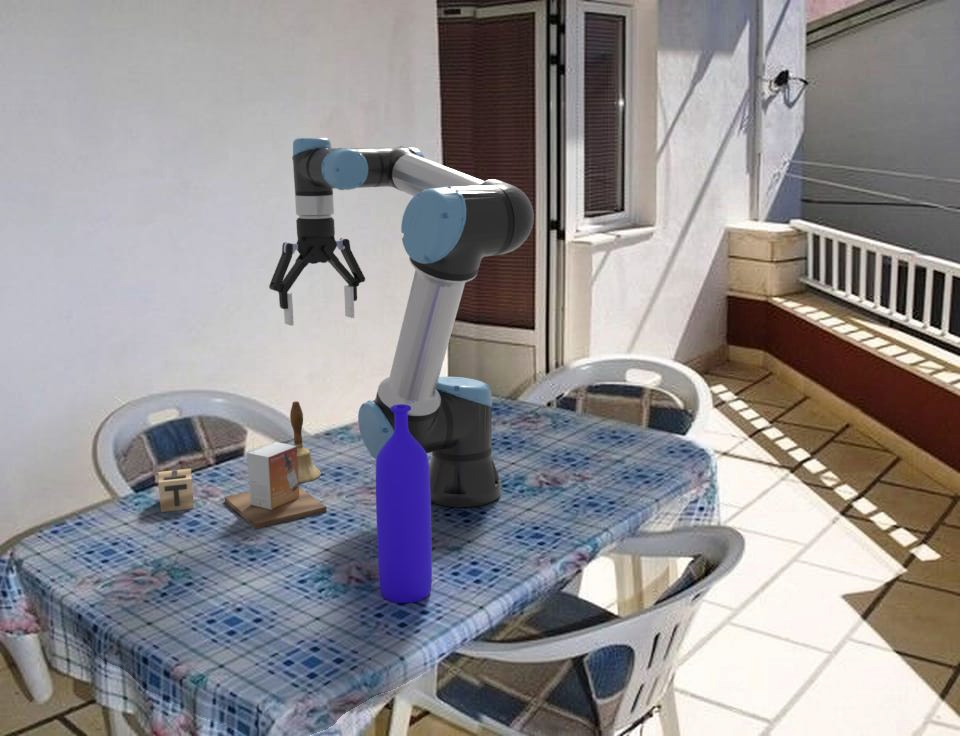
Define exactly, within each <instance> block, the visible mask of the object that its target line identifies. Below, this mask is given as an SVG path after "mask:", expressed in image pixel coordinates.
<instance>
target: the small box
mask: <svg viewBox="0 0 960 736" xmlns="http://www.w3.org/2000/svg"><path fill="white" fill-rule="evenodd" d="M246 460H247V472H248V474H247V476H248V488H249V490H248V492H250V504H251V505H254V506H257V507H261V508H265V509H269V510H272V509H274V508H276V507H278V506H281V505H283V504H285V503H287V502H290V501H292V500H295V499H298V498H299V487H300V485H299V484H300V483H299V478H298V458H297V447H296V446H294V444H293V445H292V444H287V443H283V442H279V441H275V442H273V443H271V444H269V445H268V444H267V445H265V446H263V447H260V448H258V449H255V450H251V451H249V452H247V453H246Z"/></svg>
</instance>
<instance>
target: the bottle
mask: <svg viewBox="0 0 960 736" xmlns="http://www.w3.org/2000/svg"><path fill="white" fill-rule="evenodd" d="M390 409H391V411H393V412H394V416H395V429H394V433H393V435H392V436H391V437H390V439H389V440H388V441H387V442H386V443H385V445H384V446H383V447H382V449H381V450H380V452H379V453H378V455H377V459H375V506H376V507H375V511H376V538H377V539H376V540H377V541H376V542H377V564H378V578H379V581H378V582H379V589H380V594H381V595H382V597H383V598H384V599H385V600H386V601H389V602H391V603H392V602H393V603H396V604H411V603H417V602H420V601H422V600H425V599H426V598H427V597H428V596H429V595H430V593H431V591H432V582H433V580H432V579H433V578H432V577H433V575H432V573H433V562H432V561H433V560H432V559H433V558H432V557H433V549H432V548H433V546H432V545H433V544H432V541H433V540H432V537H433V536H432V502H431V495H430V472H429V466H430V461H429V457H428V453H426V451H425V450H424V449H423V447H422V446H421V445H420V444H419V443H418V441H417V440H416V439H415V438H414V437H413V436H412V435H411V434H410V432H409V429H408V411H410V410H411V406H409V405H405V404H398V405H394V406H392V407H391V408H390Z"/></svg>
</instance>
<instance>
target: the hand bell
mask: <svg viewBox="0 0 960 736" xmlns="http://www.w3.org/2000/svg"><path fill="white" fill-rule="evenodd" d="M289 414H290V415H289V417H290V424H291V427H292V429H293V430H292V431H293V441H294V442H293V446H296V447H297V458H298V478H299V484H300V483H305V482H311V481H313V480H316V479H318V478H320V476H321V475H322V473H321V471H320V470H319V469H318V468H317V467H316V466H315V465H314V462H313V460H312V456H311V451H310V449H308V448H305V447H304V446H303V434H302V430H303V429H302V428H303V424H304V413H303V410H302V407H301V405H300V402H299V401H297V400H295V401H292V405H291V408H290V413H289Z"/></svg>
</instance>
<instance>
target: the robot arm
mask: <svg viewBox="0 0 960 736" xmlns="http://www.w3.org/2000/svg"><path fill="white" fill-rule="evenodd" d="M291 158H292V164H293V180H294V181H293V182H294V201H295V214H296V215H297V216H299V217H297V219H296V235H297V242H296V243H291V242H287V241H285V242H283V243H282V245H281V246H282V247H281V249H282V250H281V255H280V258H279V260H278V263H277V265H276V267H275V271H274V273H273V275H272V278H271V280H270V282H269V289H270V290H271V291H274V292H277V293H278V297H279V298H278V300H279V301H278V302H279V303H278V304H279V308H280V309H282V310H283V316H284V324H285V325H287V326H290V327H291V326H294V308H293V293H292V292H289V291H290V289H291V288H292V287H293V285H294V283H295V282H296V281H297V279H298V278H299V276H300V275H301V273H302V272H303V270H304V269H305V268H306V267H307V266H308V265H309V264H312V265H315V264H318V263H322V264H325V263H329V265H331V266H332V268H334V270H336V272H337V274H339V275H340V277H342V279H343V280H344V282H346V284H347V285H346V284H345V285H343V288H344V290H343V291H344V292H343V293H344V314H345V317H347V318H349V319H354V318H355V302H357V300H358V287H359V285H360V284H361V283H364V282H366V277H365V275H364V274H363V273H364V272H363V271H362V269H361V267H360V265H359V263H358V262H357V259H356V257H355V256H354V253H353V251H352V249H351V244H350V243H351V242H350V240H349V239H348V238H344V237H341V238H339V239H336V238H335V234H336V232H335V218H333V217H332V215H334V214H335V211H334V210H335V209H334V191H333V190H334V189H336V190H339V191H344V190H345V191H346V190H347V191H351V190H354V189H355V190H356V189H360V188H363V189H364V188H380V187H381V188H382V187H383V188H385V187H386V188H387V187H391V188H393V189H396V190H398V191H400V192H404V193H406V194H408V195H410V196H412V198H411V199H410V200H409V202H408V203H407V205H406V208H405V210H404V212H403V214H402V220H401V227H400V230H401V231H400V232H401V233H402V234H403V236H402V238H401V241H402V244H403V248H404V250H405V252H406V254H407V255H408V256H409V262H410V264H411V266H412V267H413V269H414V270H415V271H414V275H413V278H412V282H411V287H410V291H409V295H408V298H407V299H408V300H407V303H406V308H405V312H404V317H403V321H402V323H401V327H400V328H401V329H400V333H399V336H398V341H397V345H396V349H395V353H394V356H393V361H392V367H391V369H390V373H389V376H388V377H385V378H384V379H383V380H382V381H380V383H379V385H378V388H377V392H376V395H375V399H374V400H367V401H366V402H363V403H362V404H361V405H360V407H359V409H358V413H357V415H358V416H357V418H358V419H357V421H358V423H357V424H358V428H359V433H360V437H361V438H362V441H363V443H364V446H365V448H366V450H367V451H368V453H370V455H371V456H372V457H373V458H374V459H375V460H376V459H377V455H378V453H379V452H380V450H381V449H382V447H383V446H384V445H385V443H386V442H387V441H388V440H389V439H390V437H391V436H392V435H393V433H394V429H395V416H394V412H393V411H391V409H390V408H391V407H392V406H394V405H398V404H405V405H409V406H411V410H410V411H408V429H409V432H410V434H411V435H412V436H413V437H414V438H415V439H416V440H417V441H418V443H419V444H420V445H421V446H422V447H423V449H424V450H425V451H426V453H427V454H429V453H431V456H432V457H431V460H430V462H429V472H430V495H431V503H433V504H436V505H439V506H443V507H451V508H471V507H472V508H473V507H478V506H483V505H487V504H490V503H492V502H495V501H496V500H497V499H499V497H500V496H501V495H502V493H501V490H502V489H501V488H502V487H501V486H502V485H501V484H502V483H501V479H500V476H499V474H498V471H497V467H496V464H495V462H494V459H493V457H492V453H493V452H492V448H493V447H492V446H493V445H492V443H493V442H492V415H493V413H492V410H493V409H492V408H493V402H492V391H491V388H490V386H489V384H487V383H485V382H484V381H481V380H478V379H473V378H467V377H462V376H461V377H460V376H441V371H442V368H443V364H444V361H445V357H446V354H447V351H448V347H449V343H450V339H451V335H452V331H453V329H454V324H455V320H456V318H457V314H458V311H459V306H460V302H461V299H462V297H463V291H464V289H465V285H466V283H467V282H471V281H473V279H475V278H476V277H477V276H478V272H479V268H480V266H481V263H482V259H483V258H484V257H491V256H493V257H494V256H499V255H500V256H501V255H505V254H509V253H510V252H513V251H516V250H517V249H518V248H520V247H521V246H522V245H523V244H524V243H525V242H526V241H527V239H528V238H529V236H530V234H531V232H532V230H533V228H534V227H533V226H534V220H535V218H534V217H535V212H534V208H533V205H532V203H531V200H530V199H529V197H528V196H527V194H526V193H525V192H524V191H523V190H521V189H520V188H518V187H517V186H514V185H512V184H510V183H507V182H504V181H502V180H499V179H496V178H495V179H493V178H492V179H487V180H483V179H480V178H476V177H475V176H472V175H469V174H466V173H464V172H461V171H458V170H456V169H454V168H450V167H448V166H445V165H443V164H440V163H438V162H435V161H433V160H430V159H427V158H426V157H425V155H424V154H423V153H422V151H421V150H420V149H418V148H416V147H408V146H396V147H354V148H353V147H349V148H348V147H340V148H339V147H338V148H336V147H335V148H333V147H332V144H331V141H330V139H329V138H328V137H298V138H295V139H294V140H293V142H292V157H291ZM336 249H338V250H340V253H341V255H342V256H343V257H342V258H344V259H343V260H345V262H346V264H347V266H348V269H349V270H348V269H347V268H346V267H345V266H344V264H343V263H342V262H341V261H340V259H339V258H338V256H336V254H335V253H334V252H335V251H336ZM296 251H297V252H298V253H299V255H298V256H297V258H296V259H295V262H294V264H293V265H292V267H291V268H290V269H289V271H288V273H287V274H286V272H287V270H288V268H289V266H290V263H291V260H292V257H293V255H294V254H295V253H296Z"/></svg>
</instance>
